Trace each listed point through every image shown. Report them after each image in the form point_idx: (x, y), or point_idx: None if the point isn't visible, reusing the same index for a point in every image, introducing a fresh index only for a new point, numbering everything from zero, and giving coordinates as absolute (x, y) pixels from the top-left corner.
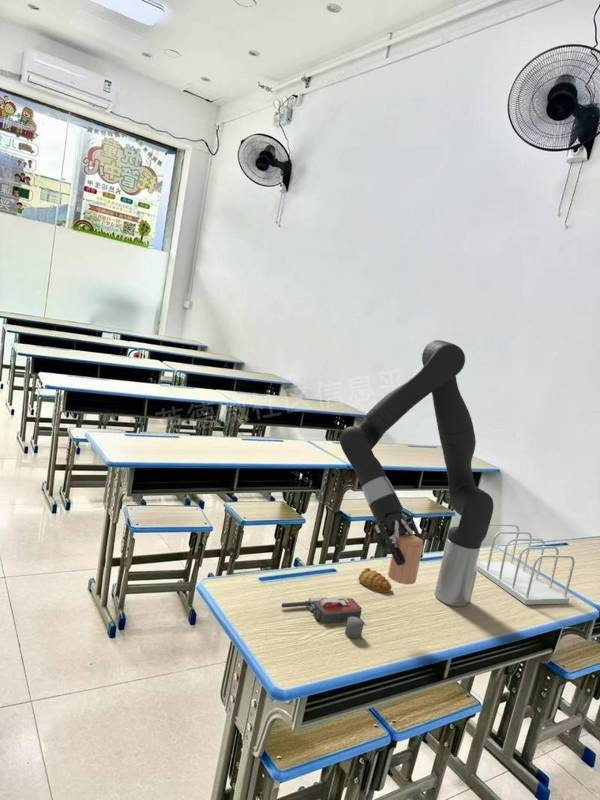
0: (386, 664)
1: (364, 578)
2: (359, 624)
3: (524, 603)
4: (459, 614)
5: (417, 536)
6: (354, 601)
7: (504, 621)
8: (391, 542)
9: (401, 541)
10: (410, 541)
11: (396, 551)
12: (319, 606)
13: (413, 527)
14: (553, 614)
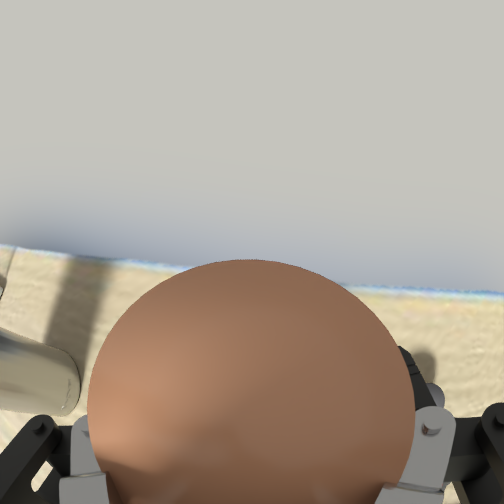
0: (415, 290)
1: None
2: (428, 387)
3: (1, 291)
4: (91, 341)
5: (51, 434)
6: None
7: (55, 281)
8: (491, 434)
9: (412, 410)
10: (295, 369)
11: (423, 397)
12: (442, 489)
13: (11, 488)
14: (5, 258)
